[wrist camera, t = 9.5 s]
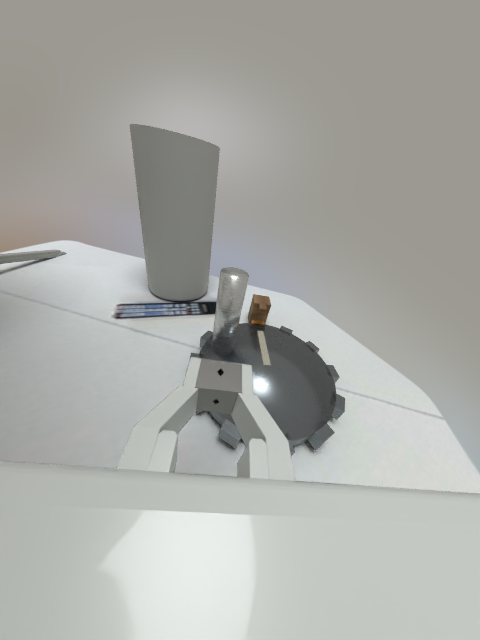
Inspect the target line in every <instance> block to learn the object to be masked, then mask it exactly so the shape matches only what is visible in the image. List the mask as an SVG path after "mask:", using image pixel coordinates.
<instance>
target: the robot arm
mask: <svg viewBox="0 0 480 640" xmlns="http://www.w3.org/2000/svg"><path fill="white" fill-rule="evenodd" d="M196 410H197V411H210V412H219V413H227V414H231V416H232V418H233V420H234V422H235V425H236V427H237V429H238V431H239V433H240V435H241V438H242V440H243V442H244V444H245V446H246V449H245V450H244V452H243V454H242V456H241V458H240V459H239V461H238V463H237V477H231V476H216V475H201V474H187V473H174V471H175V467H176V462H177V434H178V433H179V432H180V431H181V429H182V428H183V427H184V426H185V424H186V423H187V422H188V421H189V420H190V418H191V417H192V416H193V415H194V413H195V412H196ZM0 640H480V494H479V493H464V492H450V491H435V490H420V489H406V488H391V487H377V486H362V485H347V484H333V483H318V482H304V481H295V477H294V471H293V466H292V460H291V454H290V449H289V443H288V440H287V439H286V437H285V436H284V434H283V433H282V431H281V430H280V428H279V427H278V425H277V424H276V423H275V421H274V420H273V418H272V417H271V415H270V414H269V412H268V411H267V410H266V408H265V407H264V405H263V404H262V402H261V401H260V399H259V398H258V396H257V395H254V393H253V376H252V366H251V365H247V364H241V363H233V362H225V361H216V360H209V359H203V358H196V357H191V358H190V361H189V365H188V368H187V372H186V375H185V379H184V382H183V386H179V387H177V388H176V389H175V390H174V391H173V392H172V393H171V394H170V395H169V396H167V397H166V398H165V399H164V400H163V401H162V402H161V403H160V404H158V405H157V406H156V407H155V408H154V409H153V410H152V411H151V412H150V413H148V414H147V415H146V416H145V417H144V418H143V419H142V420H141V421H140V422H138V423H137V424H136V425H135V426H134V428H133V430H132V433H131V435H130V437H129V440H128V442H127V444H126V447H125V449H124V451H123V453H122V456H121V458H120V460H119V463H118V465H117V467H116V469H114V468H99V467H85V466H70V465H55V464H41V463H26V462H12V461H0Z"/></svg>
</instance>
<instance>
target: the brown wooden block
mask: <svg viewBox="0 0 480 640" xmlns="http://www.w3.org/2000/svg"><path fill="white" fill-rule="evenodd" d="M270 307H271V303H270V299H269V297H267V296H261V295H255V294H253V298H252V302H251V306H250V311H249V315H248V321H249V323H252V320H261V321H264V325H265V322H266V319H267V316H268V313H269V310H270Z"/></svg>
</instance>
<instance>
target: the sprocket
mask: <svg viewBox="0 0 480 640" xmlns="http://www.w3.org/2000/svg"><path fill="white" fill-rule="evenodd" d="M248 278H249V275H248V273H247V272H245V271H243V270H241V269H238V268H231V267H230V268H223V269H222V270H221V272H220V280H219V288H218V296H217V305H216V313H215V321H214V329H213V332H211V331H208V332H206V333H205V334H204V335H203V336H202V337H201V339H200V347H202V349H201V351H200V354H196V353H191V356H190V358H191V357H196V358H203V359H209V360H216V361H225V362H233V363H241V364H247V365H251V366H252V376H253V393H254V395H257V396H258V398H259V399H260V401H261V402H262V404H263V405H264V407H265V408H266V410H267V411H268V412H269V414H270V415H271V417H272V418H273V420H274V421H275V423H276V424H277V425H278V427H279V428H280V430H281V431H282V433H283V434H284V436H285V437H286V439H287V440H288V443H289V449H290V454H291V456H292V455H293V454H294V453H295V451H294V447H293V446H295V445H299V444H301V443H303V442H306V441H307V440H308V441H309V443H310V444H311V445H312V446H313V448H314V449H315V450H316V449H318V448H319V447H320V446H321V445H322V444H323V443H324V442H326V441H327V440H328V439H329V438H330V437H331V436H332V435H333V434H334V433H335V432H334V431H333V430H332V429H331V428H330V427H329V425H328V424H327V422H328V420H329V419H330V417H333V418H335V419H338V418H339V417H340V416H341V415H342V414H343V413H344V410H345V398H344V397H342V396H340V395H338V394H336V388H335V382H336V381H337V380H338V378H339V375H338V373H337V372H336V370H335V368H334V366H333V365H326V364H325V362H324V361H323V360H322V358H321V357H320V356H319V355H318V354H317V353H318V351H319V348H317V347H316V346H315V345H314V344H313V343H312V342H310V341H309V342H306V343H305V342H304V341H302V340H301V339H299V338H298V337H296V336H294V335H293V334H291V333H292V331H293V330H290V329H288V328H286V327H283V326H281V328H280V329H279V328H276V327H273V326H269V325H264V321H261V320H252V323H243V324H239V319H240V315H241V310H242V305H243V301H244V296H245V291H246V287H247V282H248ZM197 412H198V413H200V412H202V411H197ZM209 412H210V411H209ZM210 414H211V415H212V416H213V417H214V419H215V420H216V421H217V422H218V423H220V424H221V425H222V427H221V429H220V433H219V438H221V439H222V440H224V441H225V442H227V443H228V444H230V445H231V446H233V447H234V448H237V445H238V443H239V441H240V439H242V438H241V435H240V433H239V431H238V429H237V427H236V425H235V422H234V420H233V418H232V416H231V414H227V413H219V412H210Z"/></svg>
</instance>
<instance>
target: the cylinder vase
mask: <svg viewBox="0 0 480 640" xmlns="http://www.w3.org/2000/svg"><path fill="white" fill-rule="evenodd" d="M130 132H131V140H132V149H133V158H134V166H135V174H136V183H137V192H138V200H139V209H140V218H141V226H142V234H143V243H144V253H145V261H146V270H147V279H148V286H149V289H150V290H151V292H152V293H153V294H155V295H156V296H158V297H160V298H163V299H166V300H171V301H190V300H194V299H197V298H200V297H201V296H203V295H204V294H205V293H206V292H207V289H208V280H209V269H210V256H211V244H212V233H213V222H214V221H213V220H214V210H215V198H216V185H217V173H218V163H219V151H220V148H219V147H218V146H216V145H214V144H211V143H209V142H206V141H203V140H200V139H197V138H194V137H191V136H187V135H184V134H180V133H177V132H173V131H168V130H165V129H160V128H155V127H150V126H145V125H138V124H130Z"/></svg>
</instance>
